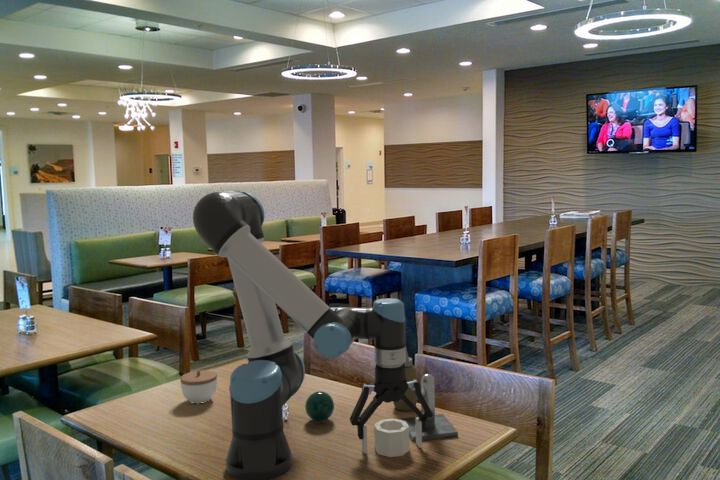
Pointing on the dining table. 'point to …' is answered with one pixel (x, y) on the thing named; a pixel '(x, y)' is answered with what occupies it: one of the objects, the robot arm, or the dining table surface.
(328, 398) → the sphere
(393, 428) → the ring
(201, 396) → the lidded jar
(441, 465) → the dining table surface
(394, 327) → the robot arm
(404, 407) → the squeeze bottle
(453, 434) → the post
